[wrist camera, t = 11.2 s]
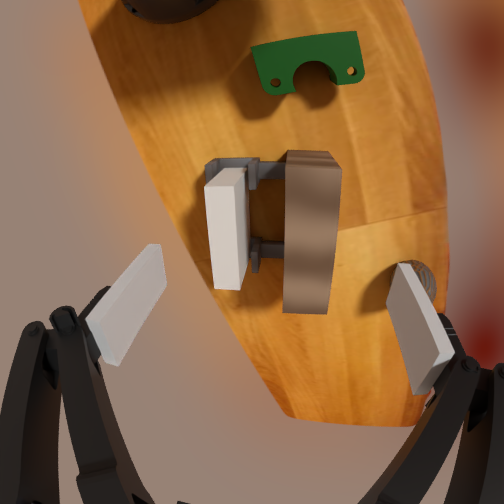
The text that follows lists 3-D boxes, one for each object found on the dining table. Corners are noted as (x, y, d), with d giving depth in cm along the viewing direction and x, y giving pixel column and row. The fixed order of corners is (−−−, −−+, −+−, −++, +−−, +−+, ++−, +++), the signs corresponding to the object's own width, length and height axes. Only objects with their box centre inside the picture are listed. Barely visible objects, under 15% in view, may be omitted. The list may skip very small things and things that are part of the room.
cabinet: (214, 150, 36) (183, 168, 26) (328, 151, 34) (342, 169, 24) (222, 260, 43) (201, 307, 33) (321, 264, 41) (326, 314, 32)
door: (220, 168, 36) (199, 186, 28) (247, 167, 36) (233, 186, 28) (226, 252, 42) (210, 288, 34) (251, 253, 41) (240, 290, 33)
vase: (415, 244, 37) (438, 276, 30) (431, 276, 39) (452, 310, 32) (377, 269, 40) (392, 306, 33) (396, 299, 42) (411, 336, 34)
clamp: (281, 82, 34) (251, 99, 29) (270, 42, 30) (235, 50, 25) (370, 75, 28) (361, 90, 23) (361, 30, 24) (349, 31, 19)
